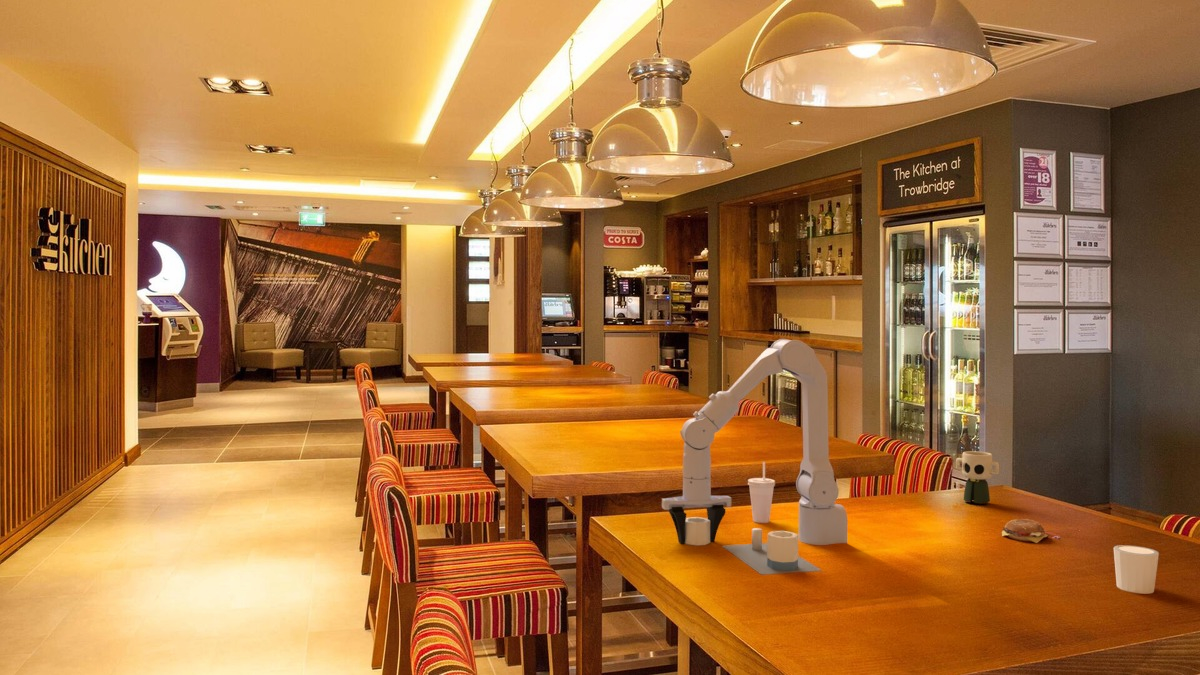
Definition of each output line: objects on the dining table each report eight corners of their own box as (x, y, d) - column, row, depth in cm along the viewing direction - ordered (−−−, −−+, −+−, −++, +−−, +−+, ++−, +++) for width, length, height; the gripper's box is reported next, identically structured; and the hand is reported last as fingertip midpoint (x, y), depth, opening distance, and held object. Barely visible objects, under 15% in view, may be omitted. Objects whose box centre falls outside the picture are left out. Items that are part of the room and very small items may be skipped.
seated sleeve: (789, 561, 164) (789, 530, 164) (801, 569, 159) (801, 537, 159) (763, 563, 163) (764, 531, 162) (775, 571, 158) (775, 538, 157)
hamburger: (1054, 552, 179) (1054, 523, 179) (986, 538, 189) (987, 511, 189) (1079, 540, 188) (1079, 512, 188) (1013, 527, 199) (1014, 502, 198)
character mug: (950, 501, 224) (950, 452, 224) (960, 497, 230) (961, 449, 229) (993, 508, 217) (994, 457, 217) (1003, 504, 222) (1004, 454, 222)
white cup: (1158, 597, 148) (1159, 557, 148) (1112, 590, 152) (1112, 551, 152) (1157, 586, 154) (1158, 548, 154) (1113, 580, 158) (1113, 542, 158)
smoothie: (775, 525, 199) (775, 464, 198) (746, 523, 200) (747, 463, 200) (775, 518, 205) (775, 460, 205) (747, 517, 206) (748, 459, 206)
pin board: (776, 549, 178) (776, 523, 177) (822, 578, 158) (822, 548, 158) (721, 553, 175) (721, 526, 175) (761, 582, 155) (761, 552, 155)
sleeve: (704, 545, 181) (704, 516, 181) (712, 551, 176) (712, 522, 176) (680, 546, 180) (680, 517, 180) (688, 553, 175) (688, 523, 175)
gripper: (722, 472, 183) (722, 535, 183) (657, 474, 180) (657, 539, 180) (735, 478, 176) (734, 544, 177) (667, 481, 173) (667, 548, 173)
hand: (696, 542), depth 178 cm, fingers open, 6 cm apart
